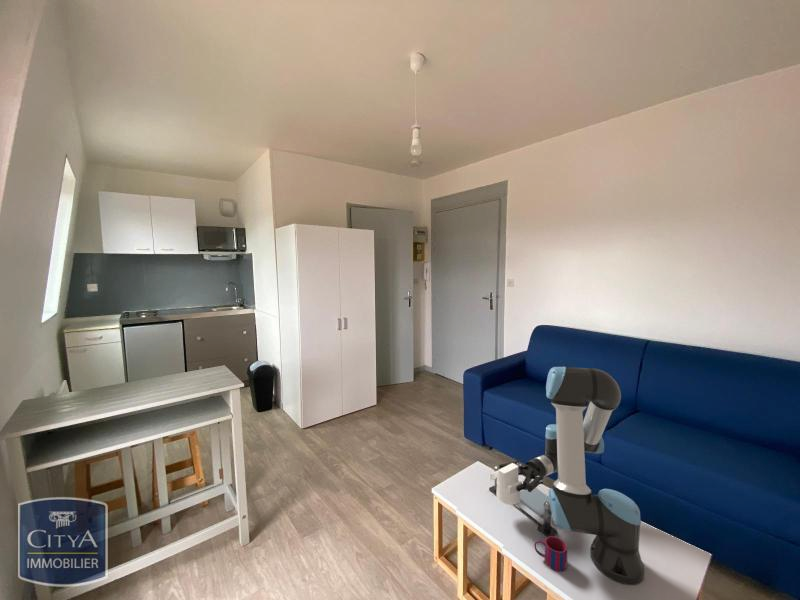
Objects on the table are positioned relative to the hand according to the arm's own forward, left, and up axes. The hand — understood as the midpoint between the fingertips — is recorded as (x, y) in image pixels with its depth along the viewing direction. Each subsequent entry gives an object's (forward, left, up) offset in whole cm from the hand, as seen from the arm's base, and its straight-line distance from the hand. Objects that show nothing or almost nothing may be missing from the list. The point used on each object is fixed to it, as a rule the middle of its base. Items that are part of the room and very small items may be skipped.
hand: (499, 483), depth 129 cm
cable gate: (+2, -11, -15) cm, 19 cm away
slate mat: (+4, -21, -15) cm, 26 cm away
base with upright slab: (+1, -4, -7) cm, 9 cm away
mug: (-21, -5, -15) cm, 27 cm away
